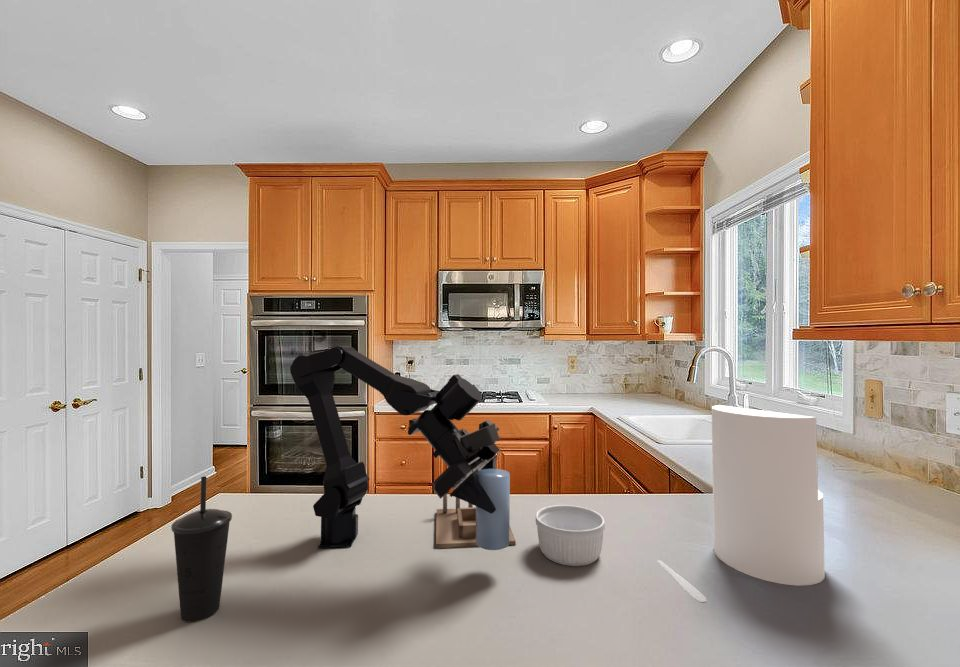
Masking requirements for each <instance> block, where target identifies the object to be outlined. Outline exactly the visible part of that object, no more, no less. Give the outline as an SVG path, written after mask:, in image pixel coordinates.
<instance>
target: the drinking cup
mask: <svg viewBox="0 0 960 667" xmlns="http://www.w3.org/2000/svg"><path fill="white" fill-rule="evenodd" d="M232 519H233V514H232V512H231V511H229V510H224V509H219V508H217V509H216V508H207V476H201V477H200V507H199V510H197V511H196V510H195V511H193V512H190V513H188V514H186V515H184V516H183V517H180V518H178V519H176V520H175V521H174V522H173V523H172V524H171V527H170V528H171V531H172V532H173V538H174V541H173V542H174V551H175V562H176V565H175V566H176V575H177V585H178V595H179V596H178V598H179V610H180V619H181V621H183V622H185V623H196V622H200V621H203V620H206V619H208V618H210V617H211V616H213V615H214V614H216V613H217V612H218V611H219V610H220V605H221V598H222V587H223V580H224V570H225V562H226V556H227V555H226V554H227V547H228V539H229V538H228V537H229V530H230V522H231V521H232Z"/></svg>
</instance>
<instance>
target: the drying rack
mask: <svg viewBox="0 0 960 667" xmlns="http://www.w3.org/2000/svg"><path fill="white" fill-rule="evenodd" d="M467 503H468V502H467ZM435 517H436V518H435V519H436V523H435V524H436V526H435V548H436V549H445V548H447V549H449V548H450V549H451V548H452V549H453V548H471V547H472V548H473V547H478V546H477V544H476V506H474V505H473V504H470V503H468V506H467V507H461V499H459V498H456V497H455V508H448V493H447V494H446V495H445V496H443V497H442V508H438V509H436V516H435ZM516 542H517V541H516V538H515V536H514V532H513V531H512V528H511V527H510V542H509V545H508V546H516V545H517V544H516Z"/></svg>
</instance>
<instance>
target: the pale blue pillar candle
mask: <svg viewBox="0 0 960 667" xmlns="http://www.w3.org/2000/svg"><path fill="white" fill-rule="evenodd" d="M478 475H479V483H480V484H481V486H482V487H483V489H484V490H485V492H486V493H487V495H488V497H489V498H490V500H491V501H492V503H493V504H494V506H495V508H496V510H495V511H494V512H493V513H492V514H491V513H489V512H487V511H485V510H483V509H481V508H479V507H477V506H475V507H476V544H477V546H476V547H479V548H480V549H484V550H488V551H498V550H499V551H500V550H503V549H506V548H507V547H509V546H510V545H509V542H510V528H511V525H510V524H511V523H510V515H511V514H510V512H511V511H510V507H511V506H510V505H511V500H510V499H511V495H510V493H511V490H510V488H511V487H510V486H511V484H510V483H511V480H510V479H511V475H510V472H509V471H508V470H505V469H501V468H500V469H499V468H496V469H483V470H480V471H478Z"/></svg>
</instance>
